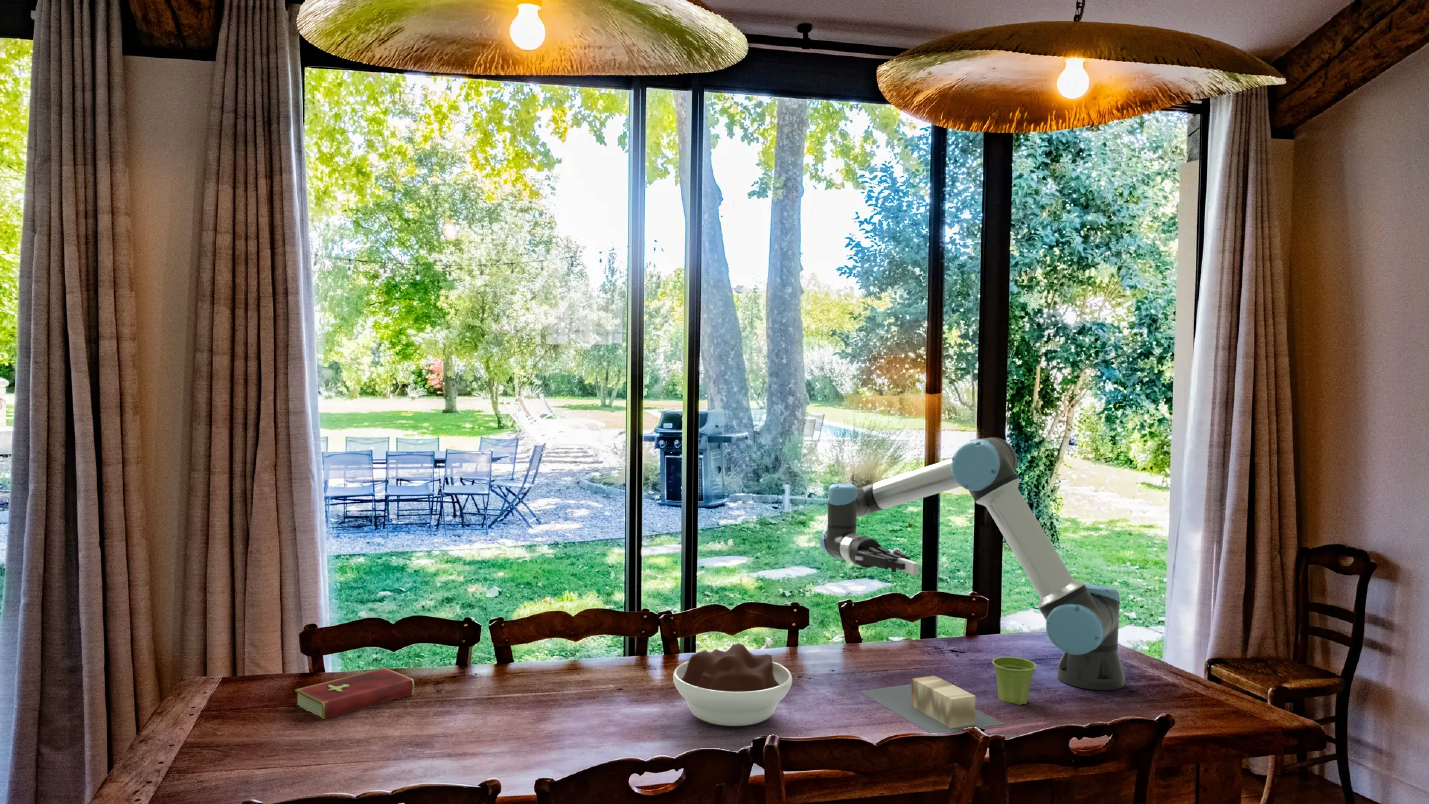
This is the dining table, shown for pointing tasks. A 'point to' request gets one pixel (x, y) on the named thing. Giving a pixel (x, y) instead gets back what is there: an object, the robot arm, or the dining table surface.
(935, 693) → the birch block
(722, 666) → the chocolate pudding bowl
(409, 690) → the hardcover book
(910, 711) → the rubber mat
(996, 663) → the plant pot
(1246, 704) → the dining table surface
